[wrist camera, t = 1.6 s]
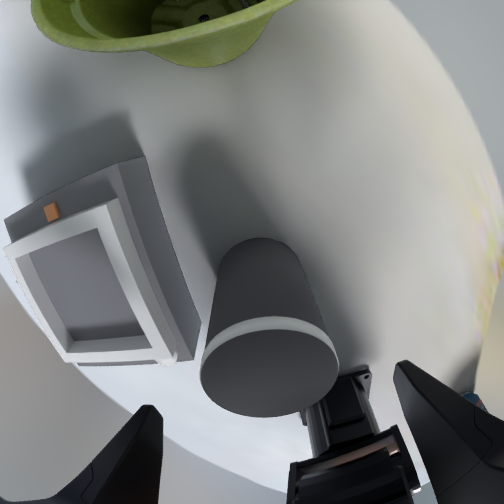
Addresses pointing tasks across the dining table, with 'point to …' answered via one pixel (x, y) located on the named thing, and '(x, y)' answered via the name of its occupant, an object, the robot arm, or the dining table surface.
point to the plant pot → (157, 26)
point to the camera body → (104, 271)
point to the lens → (265, 335)
